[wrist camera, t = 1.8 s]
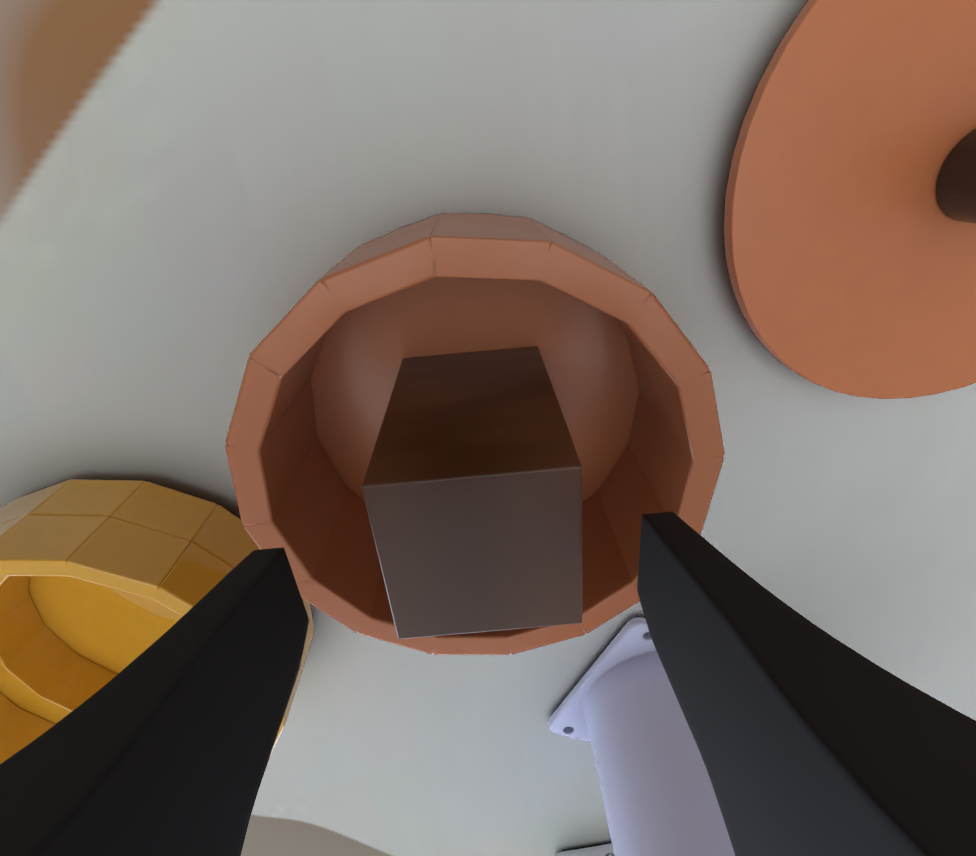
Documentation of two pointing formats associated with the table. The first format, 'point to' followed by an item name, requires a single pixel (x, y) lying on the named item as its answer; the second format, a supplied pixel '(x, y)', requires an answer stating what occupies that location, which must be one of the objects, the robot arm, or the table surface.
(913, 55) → the lid
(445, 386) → the walnut block
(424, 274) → the pot
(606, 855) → the cosmetic box
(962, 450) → the table surface
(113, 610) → the bowl
